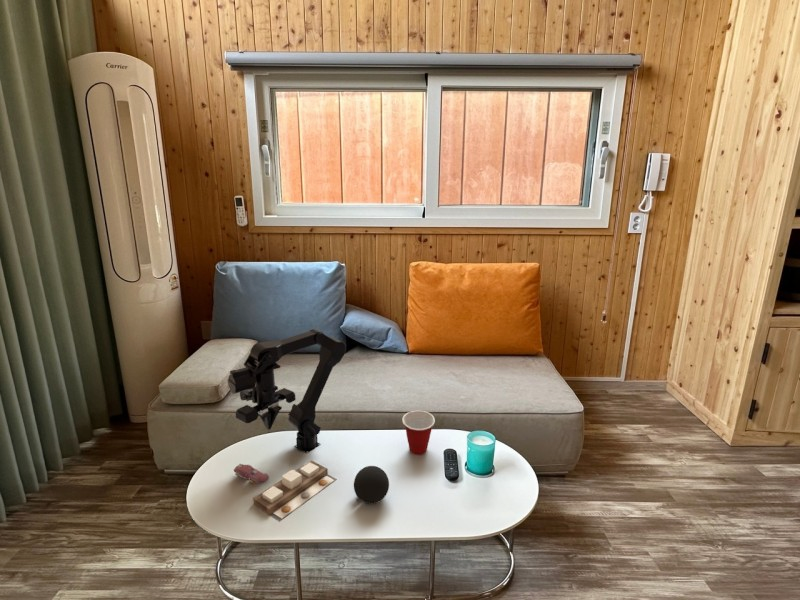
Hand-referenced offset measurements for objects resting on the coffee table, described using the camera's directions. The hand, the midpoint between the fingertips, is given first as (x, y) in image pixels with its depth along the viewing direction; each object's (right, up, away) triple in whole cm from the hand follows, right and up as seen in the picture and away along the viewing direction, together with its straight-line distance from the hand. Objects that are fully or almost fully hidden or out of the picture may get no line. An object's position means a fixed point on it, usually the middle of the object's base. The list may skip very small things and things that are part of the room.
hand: (268, 429), depth 146 cm
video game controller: (-4, -14, -5) cm, 16 cm away
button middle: (+10, -13, -10) cm, 19 cm away
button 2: (+14, -13, -4) cm, 20 cm away
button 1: (+6, -16, -15) cm, 23 cm away
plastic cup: (+47, -10, +10) cm, 50 cm away
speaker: (+33, -17, -13) cm, 39 cm away
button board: (+11, -16, -11) cm, 22 cm away
